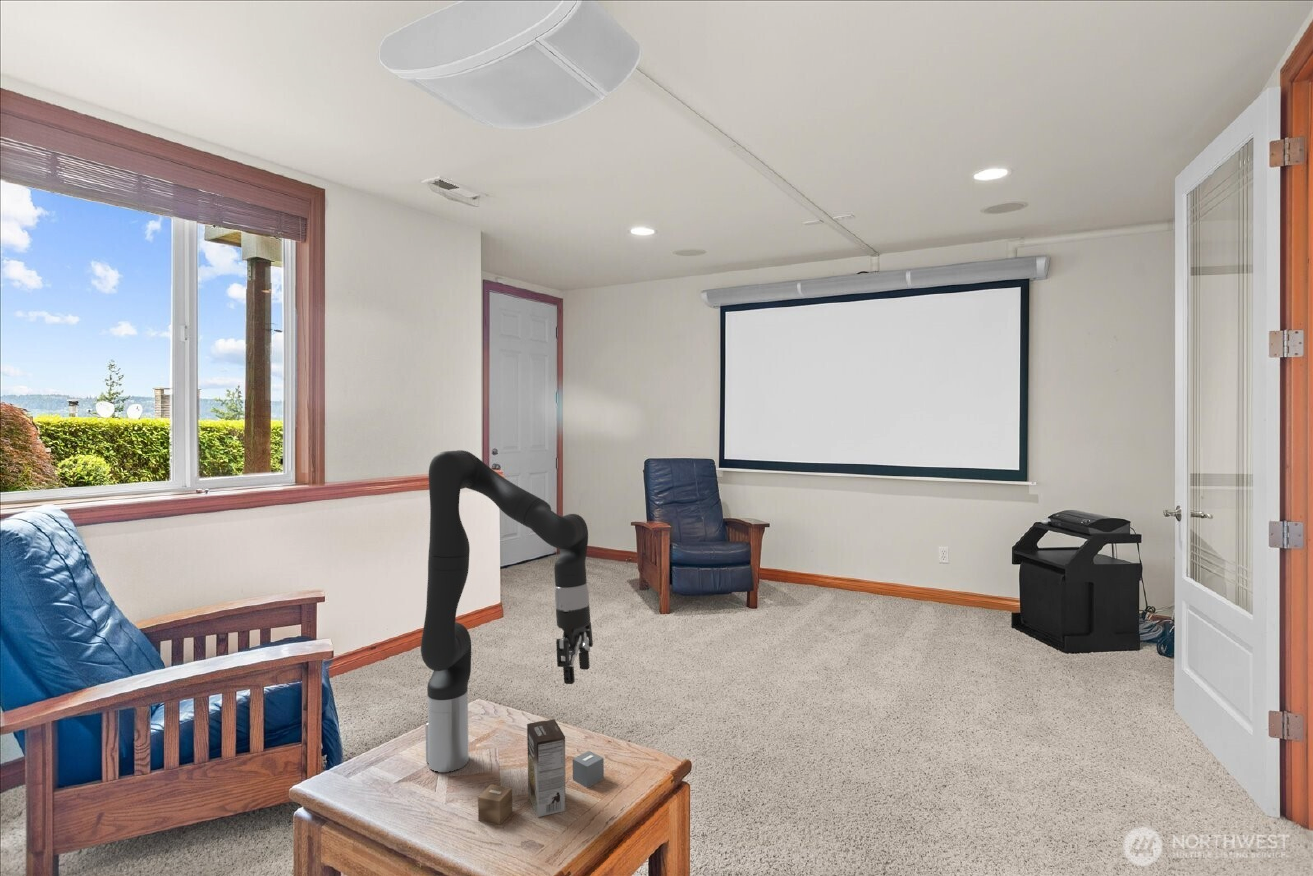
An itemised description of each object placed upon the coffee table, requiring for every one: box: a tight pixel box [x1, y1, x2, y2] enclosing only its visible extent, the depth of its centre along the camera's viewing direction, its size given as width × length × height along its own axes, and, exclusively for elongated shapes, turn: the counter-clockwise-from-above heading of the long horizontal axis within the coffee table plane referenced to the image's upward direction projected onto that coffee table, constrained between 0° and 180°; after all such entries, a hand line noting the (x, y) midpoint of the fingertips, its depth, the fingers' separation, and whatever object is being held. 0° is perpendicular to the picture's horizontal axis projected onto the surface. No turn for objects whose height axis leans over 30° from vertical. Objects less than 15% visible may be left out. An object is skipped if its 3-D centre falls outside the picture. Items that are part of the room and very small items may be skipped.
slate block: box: [572, 750, 605, 789], centre depth 150 cm, size 5×5×5 cm
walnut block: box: [477, 784, 513, 826], centre depth 137 cm, size 5×5×5 cm
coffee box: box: [526, 718, 566, 818], centre depth 141 cm, size 9×6×16 cm
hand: (577, 676), depth 147 cm, fingers open, 8 cm apart
